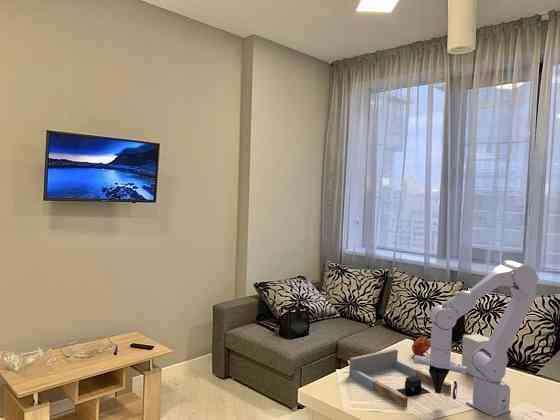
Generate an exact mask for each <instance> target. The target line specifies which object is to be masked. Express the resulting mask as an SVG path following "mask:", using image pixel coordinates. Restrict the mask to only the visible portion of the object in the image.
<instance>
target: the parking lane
mask: <svg viewBox="0 0 560 420" xmlns="http://www.w3.org/2000/svg"><path fill="white" fill-rule="evenodd" d="M398 354H399V349H397V348H391V349H387V350H386V349H385V350H382V351H377V352H372V353H367V354H362V355H358V356H353V357H350V358H349V367H348V369H349V373H348V375H349V377H350V378H353V379H355V380H356V381H358V382H359V383H361V384H363V385H365V386H367V387H368V388H370V389H372V390H374V391H375V392H377V393H378V394H381V395H382V396H384V397H386V398H388V399H389V400H391V401H392V402H394V403H396V404H398V405H400V406H401V407H403V408H406V407H408V399H409V397H406V396H404V395H403V394H401V393H400V392H398V391H397V390H396V389H394V388H391V387H390V386H388V385H386V384H385V383H382V382H380V381H378V379H374V378H373V377H371V376H369V375H368V374H370V373H371V374H372V373H374V372H380V371H383V370H387V369H391V368H395V369H397V370H399V371H401V372H404V373H406V374H408V375H410V376H411V377H413V376H415V377H417V378H419V379H421V382H424V383H426V384H428V385H430V386H433V387H434V383H433V380H432V377H431V375H430V373H429V372H426V371H423V370H421V369H419V368H416V367H414V366H413V365H410V364H408V363H406V362H403V361H402V360H400V359H398ZM442 391H443V392H444V393H446V394H450V393H452V384H451V383H449V382H447V381H445V380H444V383H443V385H442V389H441V392H442Z"/></svg>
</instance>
